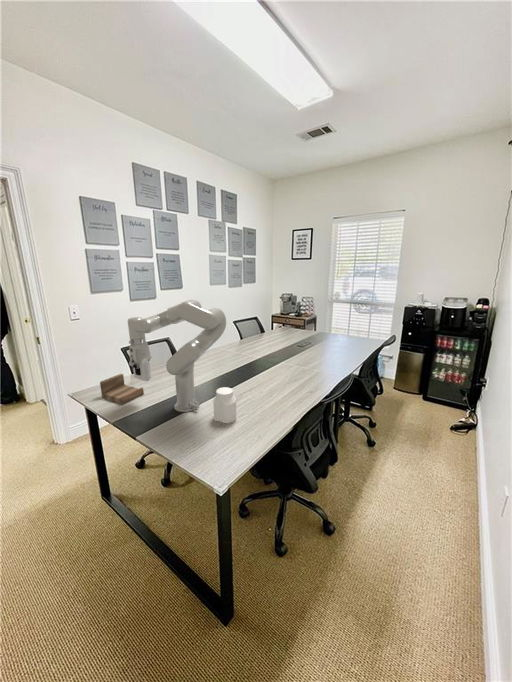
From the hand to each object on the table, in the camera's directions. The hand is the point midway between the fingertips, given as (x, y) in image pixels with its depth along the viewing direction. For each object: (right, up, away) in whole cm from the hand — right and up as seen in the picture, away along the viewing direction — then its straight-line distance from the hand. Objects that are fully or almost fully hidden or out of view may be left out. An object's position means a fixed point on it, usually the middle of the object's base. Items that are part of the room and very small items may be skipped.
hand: (142, 372), depth 152 cm
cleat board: (-15, -15, +12) cm, 24 cm away
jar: (+46, -22, -10) cm, 52 cm away
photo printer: (0, -4, +1) cm, 4 cm away
